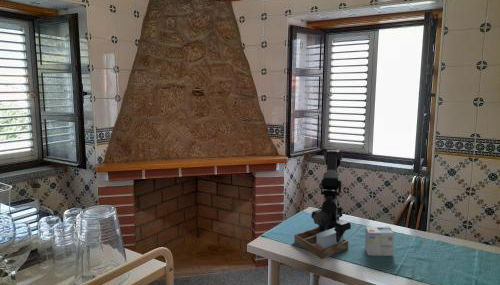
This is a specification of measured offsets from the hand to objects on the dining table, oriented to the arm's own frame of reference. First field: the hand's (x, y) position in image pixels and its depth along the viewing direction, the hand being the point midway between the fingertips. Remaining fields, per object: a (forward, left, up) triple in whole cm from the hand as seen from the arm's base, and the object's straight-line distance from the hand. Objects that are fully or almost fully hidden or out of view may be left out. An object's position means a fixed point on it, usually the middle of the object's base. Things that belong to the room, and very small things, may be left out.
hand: (330, 238), depth 157 cm
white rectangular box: (0, 0, -5) cm, 5 cm away
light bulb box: (-16, +13, -6) cm, 22 cm away
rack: (0, -6, -6) cm, 8 cm away
